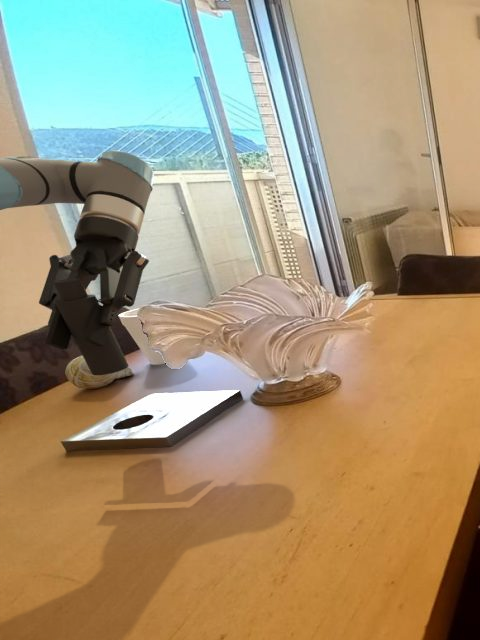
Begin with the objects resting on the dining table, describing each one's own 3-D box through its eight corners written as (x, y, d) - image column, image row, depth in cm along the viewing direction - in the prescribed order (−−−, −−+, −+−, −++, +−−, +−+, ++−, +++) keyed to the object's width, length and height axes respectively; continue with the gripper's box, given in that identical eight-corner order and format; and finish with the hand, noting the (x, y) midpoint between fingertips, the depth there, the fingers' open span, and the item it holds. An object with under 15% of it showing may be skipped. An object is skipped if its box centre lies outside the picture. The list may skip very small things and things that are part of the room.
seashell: (125, 366, 115) (117, 334, 110) (142, 390, 112) (134, 359, 107) (64, 379, 107) (51, 346, 102) (80, 406, 105) (68, 373, 99)
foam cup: (189, 350, 126) (169, 303, 121) (192, 359, 120) (172, 310, 115) (141, 360, 120) (118, 311, 115) (142, 370, 114) (118, 319, 109)
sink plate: (65, 451, 82) (60, 441, 81) (156, 401, 99) (152, 393, 98) (170, 447, 82) (166, 437, 82) (243, 398, 99) (240, 390, 98)
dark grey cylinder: (84, 375, 81) (36, 284, 75) (110, 365, 85) (66, 277, 79) (111, 375, 81) (65, 283, 75) (135, 364, 85) (94, 276, 79)
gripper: (180, 237, 91) (154, 348, 82) (73, 243, 88) (35, 358, 79) (148, 211, 84) (117, 329, 75) (31, 216, 81) (-15, 339, 72)
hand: (75, 344), depth 77 cm, fingers closed on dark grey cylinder, 5 cm apart
